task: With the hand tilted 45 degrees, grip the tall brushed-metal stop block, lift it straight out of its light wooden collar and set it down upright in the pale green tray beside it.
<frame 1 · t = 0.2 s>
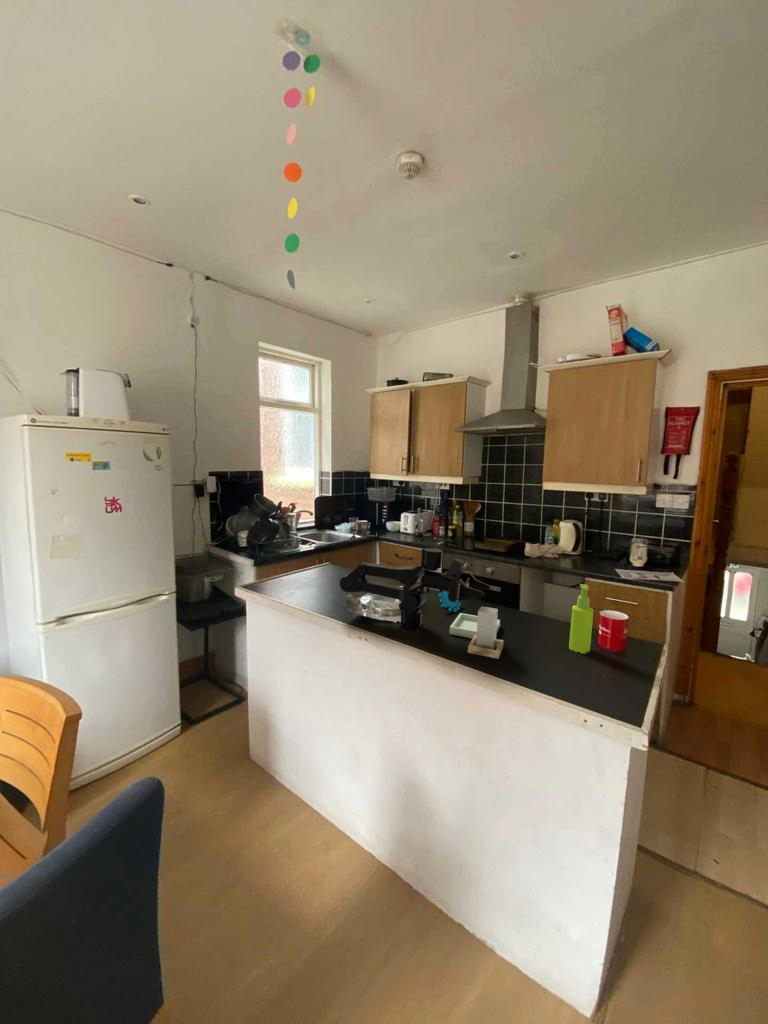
hand: (487, 590, 134), 16 cm above the worktop, tool horizontal, fingers open, 9 cm apart
wooden collar: (485, 649, 129), on the worktop
tray: (475, 630, 143), on the worktop
stop block: (486, 630, 128), in the wooden collar
gear: (450, 609, 163), on the worktop
soap dispenser: (579, 649, 131), on the worktop
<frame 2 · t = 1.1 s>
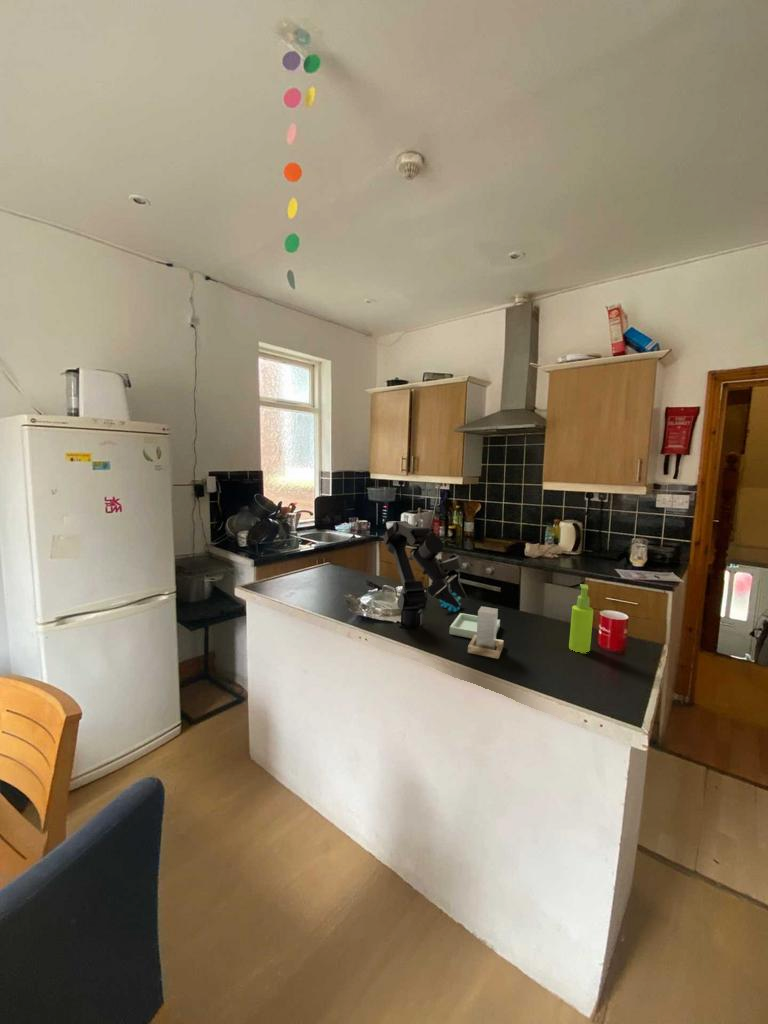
hand: (462, 602, 131), 14 cm above the worktop, tool tilted 45°, fingers open, 9 cm apart
nothing on the worktop moved.
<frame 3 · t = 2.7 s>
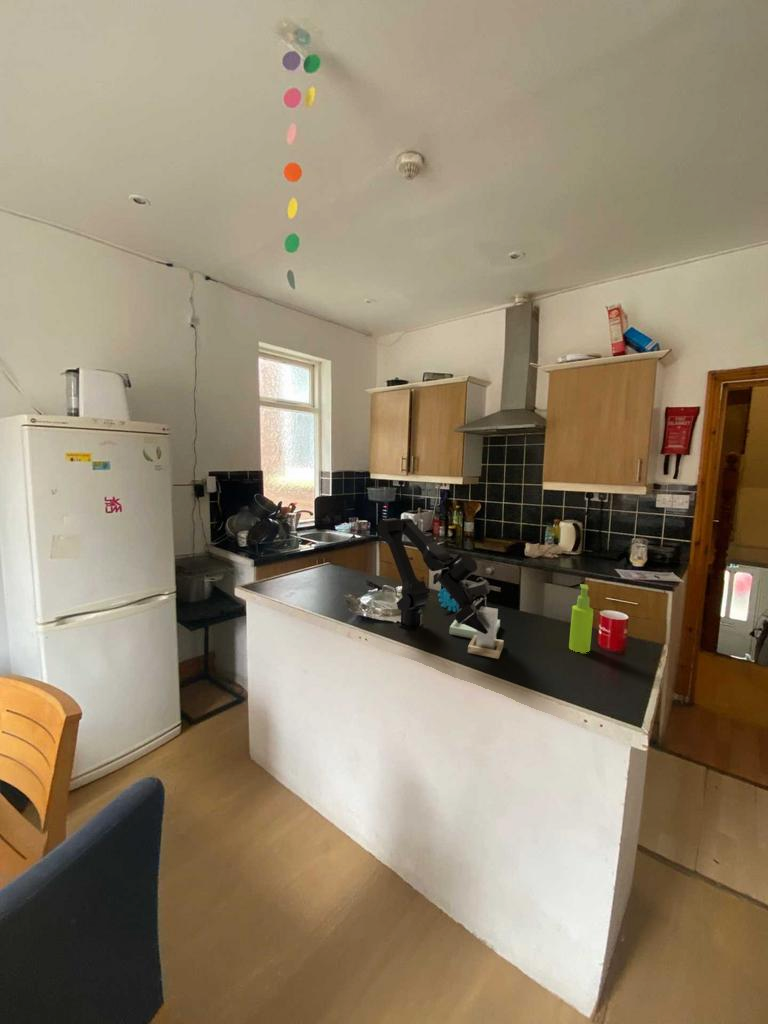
hand: (489, 627, 128), 7 cm above the worktop, tool tilted 45°, fingers open, 9 cm apart
nothing on the worktop moved.
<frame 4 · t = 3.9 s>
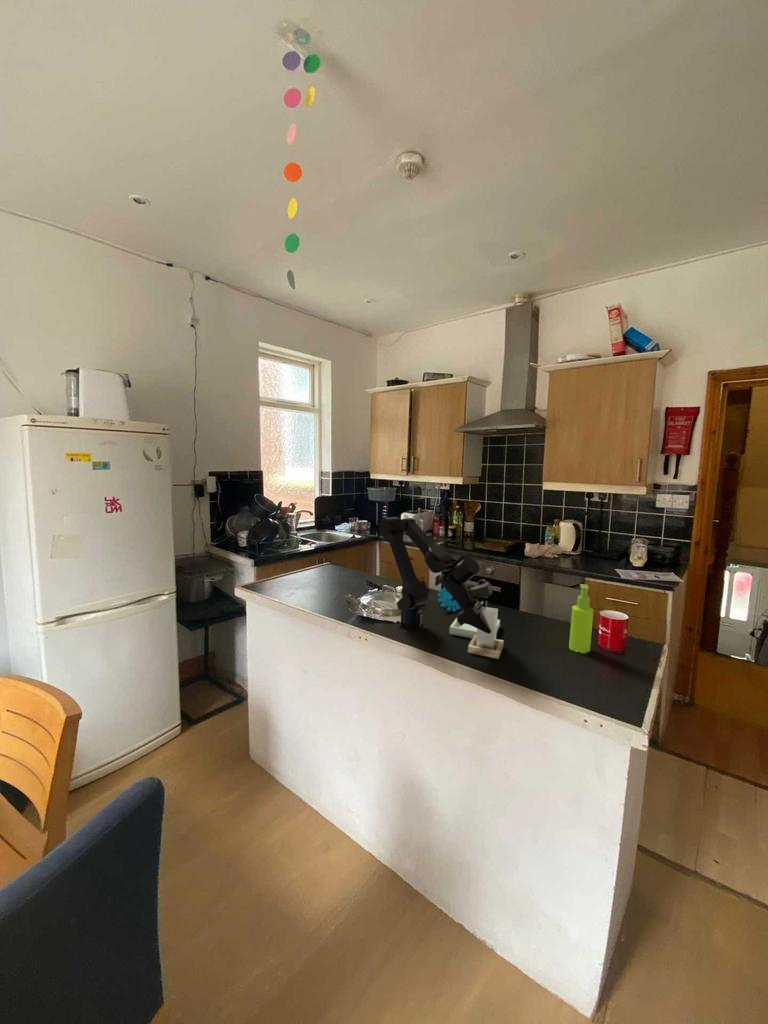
hand: (491, 629, 128), 7 cm above the worktop, tool tilted 45°, fingers closed on stop block, 5 cm apart
stop block: (486, 629, 128), in the wooden collar, touching gripper
everything else where it was.
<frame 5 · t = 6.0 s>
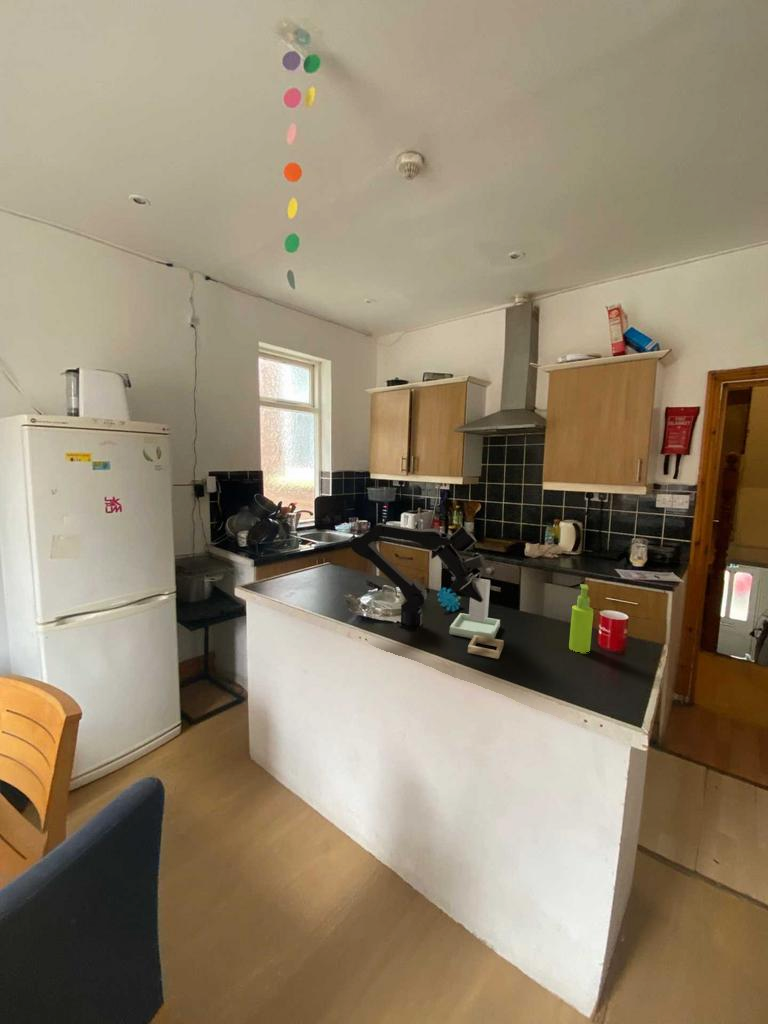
hand: (483, 599, 136), 13 cm above the worktop, tool tilted 45°, fingers closed on stop block, 5 cm apart
stop block: (479, 599, 137), point 12 cm above the worktop, touching gripper
everything else where it was.
when the fingers open (9 cm above the worktop, at t = 8.1 s): stop block drops 1 cm, resting on tray.
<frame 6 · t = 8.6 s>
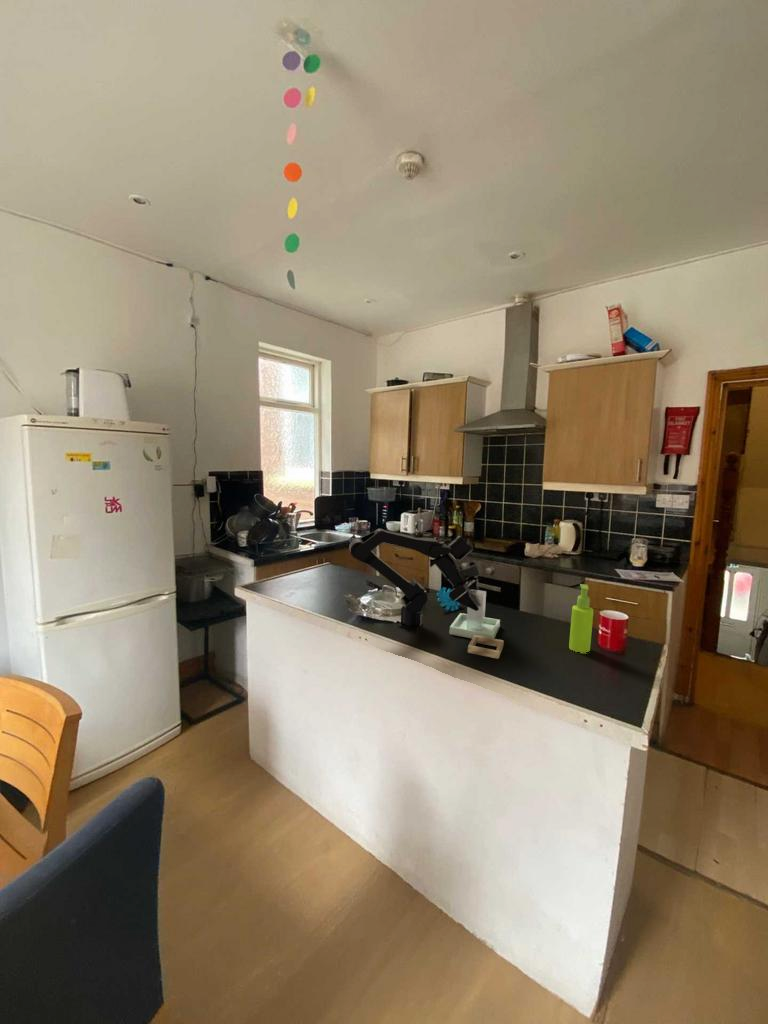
hand: (480, 605, 142), 9 cm above the worktop, tool tilted 45°, fingers open, 9 cm apart
stop block: (476, 610, 142), in the tray, point 7 cm above the worktop
everything else where it was.
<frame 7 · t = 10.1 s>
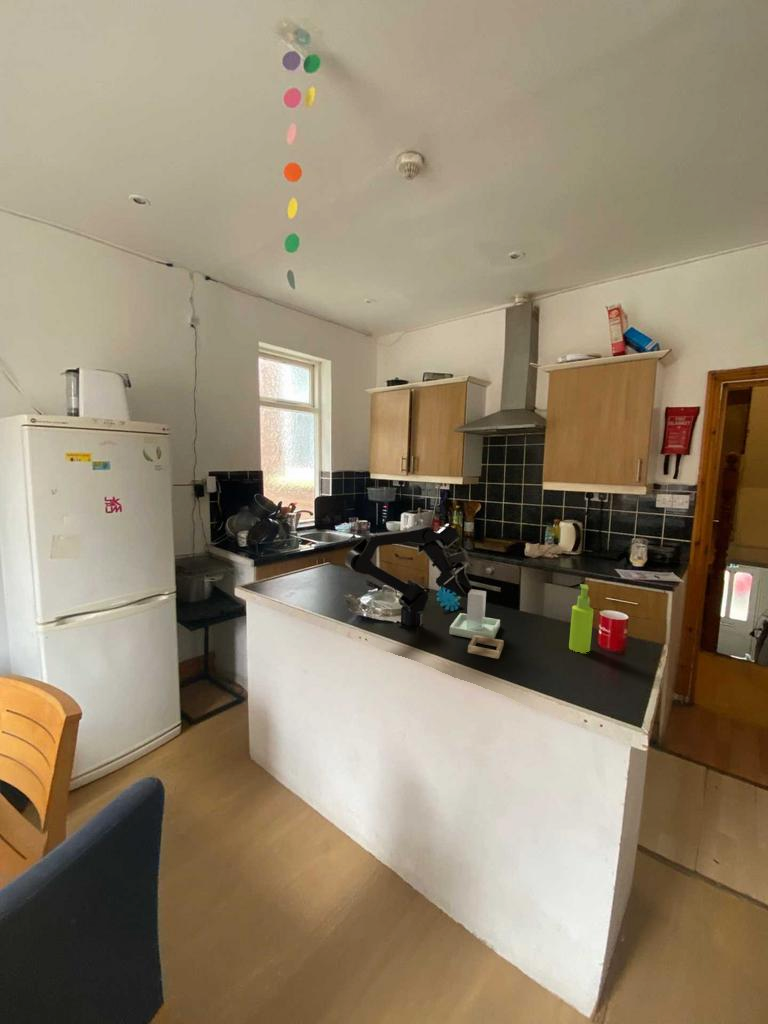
hand: (467, 592, 142), 13 cm above the worktop, tool tilted 45°, fingers open, 9 cm apart
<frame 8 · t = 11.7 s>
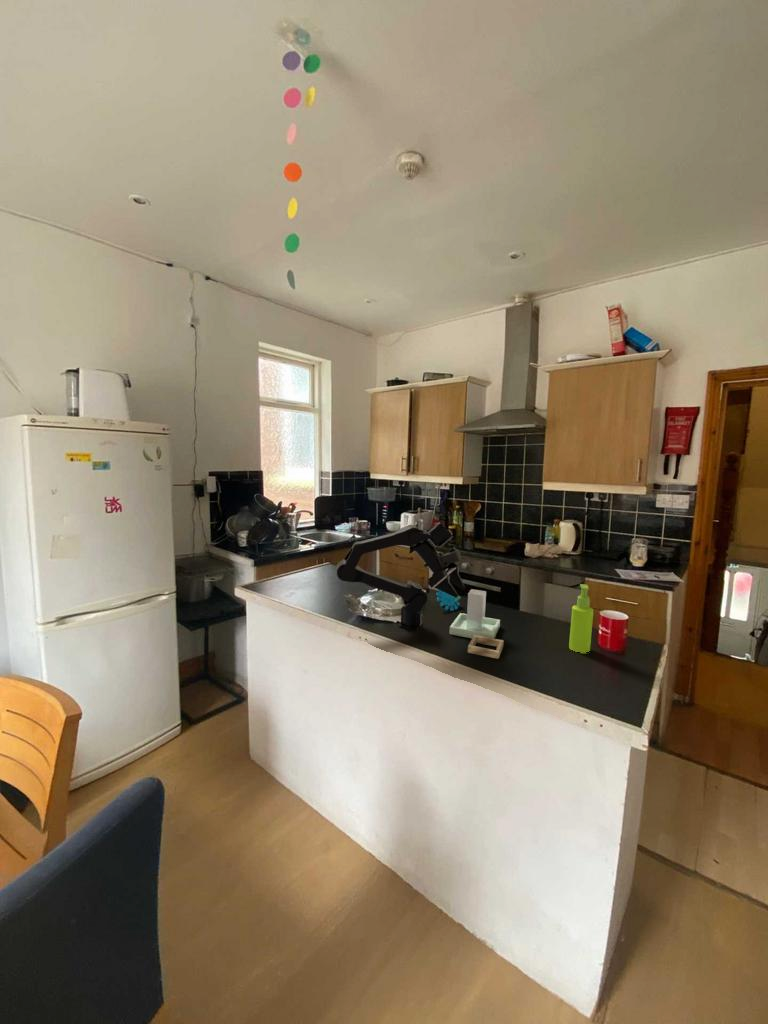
hand: (460, 592, 140), 14 cm above the worktop, tool tilted 45°, fingers open, 9 cm apart
at the end: stop block inside the target area on the tray (0.0 cm from its centre), point 7.0 cm above the tray's base; stop block tilted 0°; the gripper is holding nothing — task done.
